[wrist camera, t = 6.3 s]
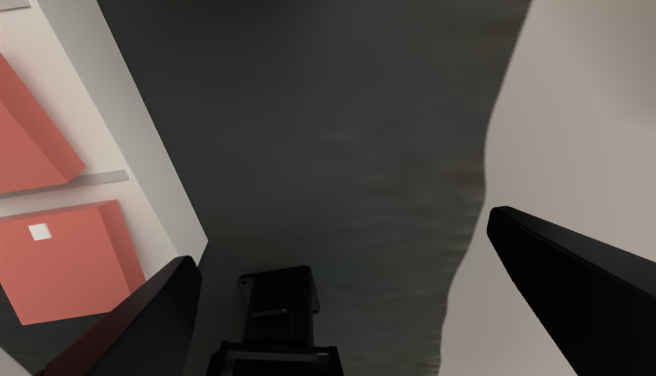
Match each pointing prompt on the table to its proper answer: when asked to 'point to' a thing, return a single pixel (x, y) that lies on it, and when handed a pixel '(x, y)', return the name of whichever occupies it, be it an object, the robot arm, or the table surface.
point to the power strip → (98, 127)
